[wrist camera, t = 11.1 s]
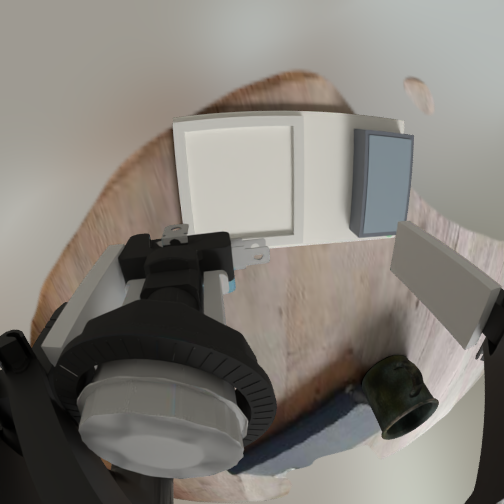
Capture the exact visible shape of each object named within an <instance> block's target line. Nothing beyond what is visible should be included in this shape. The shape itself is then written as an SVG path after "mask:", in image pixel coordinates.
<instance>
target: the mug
mask: <svg viewBox="0 0 504 504" xmlns="http://www.w3.org/2000/svg"><path fill="white" fill-rule="evenodd" d="M362 389H363V392H364V394H365V396H366V398H367V400H368V402H369V404H370V406H371V408H372V410H373V413H374V415H375V417H376V419H377V421H378V423H379V425H380V428H381V430H382V438H383V439H386V440H390V439H395V438H398V437H401V436H403V435H405V434H407V433H409V432H411V431H412V430H414V429H416V428H417V427H419V426H420V425H421V424H423V423H424V422H425V421H426V420H427V419H428V418H429V417H430V416H431V415H432V414H433V413H434V412H435V410H436V409H437V407H438V405H439V402H438V400H437V399H435V398H433V396H432V395H431V393H430V392H429V390H428V389H427V387H426V385H425V384H424V382H423V377H422V374H421V372H420V370H419V369H418V368H417V367H416V365H415V364H413V363H412V362H411V361H409V360H408V358H407V357H405V356H402V355H394V356H391V357H388V358H386V359H384V360H382V361H380V362H379V363H377V364H376V365H375V366H373V367H372V368H371V369H370V370H369V371H368V372H367V374H366V375H365V377H364V379H363V382H362Z"/></svg>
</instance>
